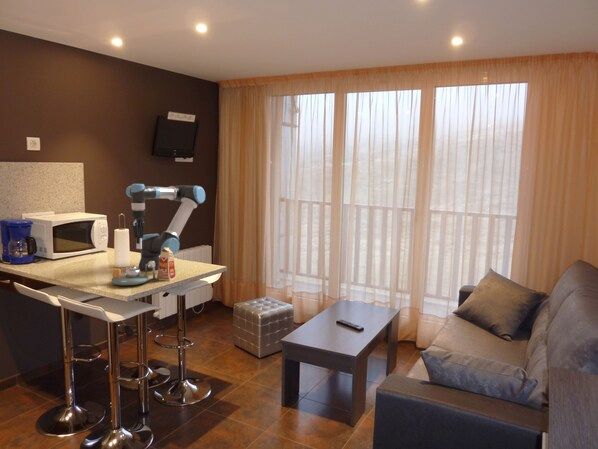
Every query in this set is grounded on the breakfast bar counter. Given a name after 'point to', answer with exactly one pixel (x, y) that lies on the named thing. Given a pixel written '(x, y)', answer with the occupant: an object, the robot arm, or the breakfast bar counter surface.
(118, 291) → the breakfast bar counter surface
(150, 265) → the dial indicator
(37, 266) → the breakfast bar counter surface
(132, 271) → the cover
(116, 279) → the turntable
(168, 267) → the milk carton
